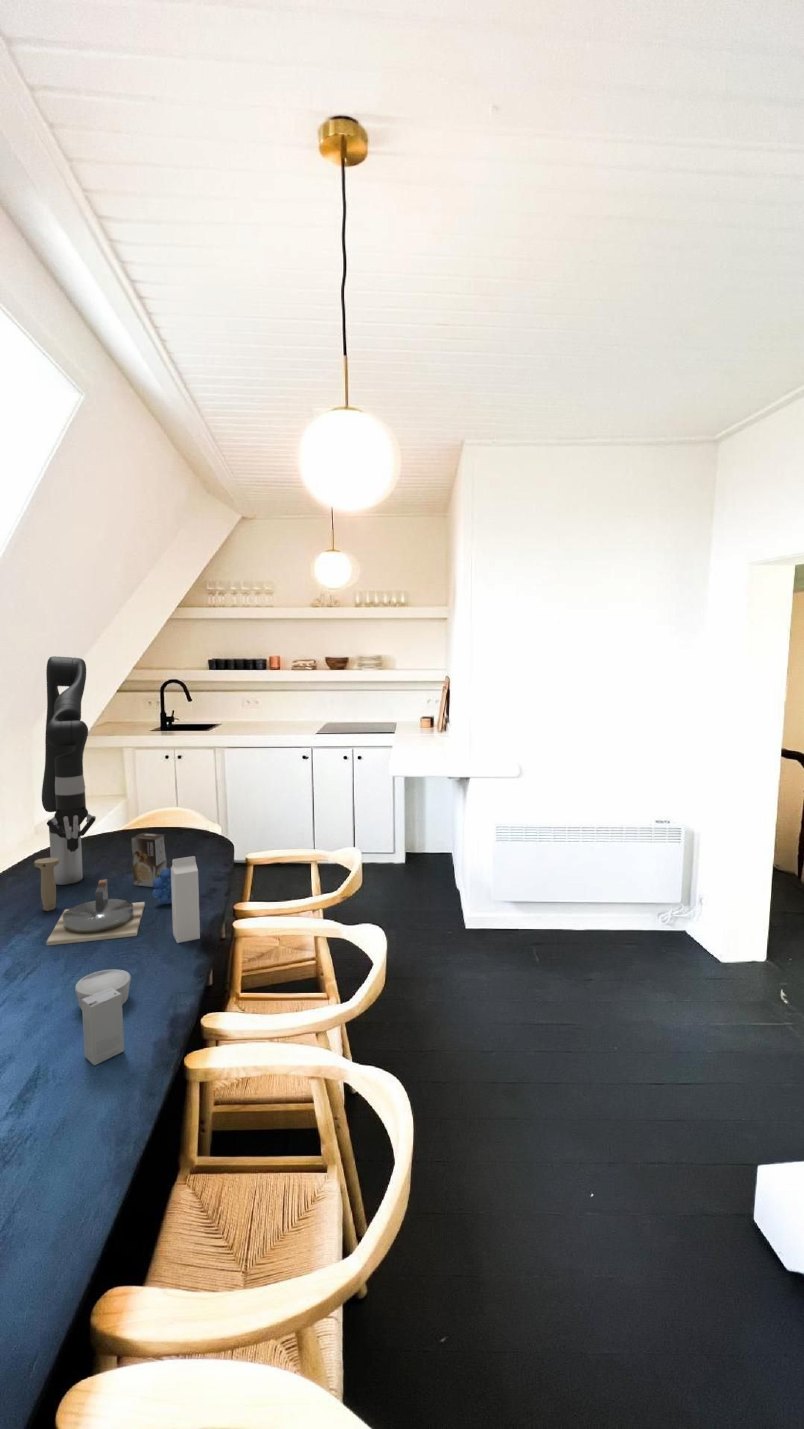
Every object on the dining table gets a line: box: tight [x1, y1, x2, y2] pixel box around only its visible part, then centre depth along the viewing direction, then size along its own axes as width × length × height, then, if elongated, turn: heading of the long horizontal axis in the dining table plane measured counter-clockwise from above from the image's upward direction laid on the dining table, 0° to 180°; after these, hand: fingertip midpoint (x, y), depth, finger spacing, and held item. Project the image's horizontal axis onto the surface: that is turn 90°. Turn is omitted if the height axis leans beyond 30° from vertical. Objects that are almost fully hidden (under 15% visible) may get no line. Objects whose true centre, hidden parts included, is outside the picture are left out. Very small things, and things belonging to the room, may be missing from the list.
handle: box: [34, 857, 59, 912], centre depth 195 cm, size 5×6×15 cm
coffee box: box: [131, 832, 168, 888], centre depth 216 cm, size 9×6×16 cm
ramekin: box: [74, 968, 132, 1010], centre depth 144 cm, size 11×11×5 cm
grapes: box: [151, 867, 172, 905], centre depth 200 cm, size 12×7×12 cm, turn 112°
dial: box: [63, 878, 134, 933], centre depth 185 cm, size 19×18×8 cm
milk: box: [170, 855, 201, 944], centre depth 176 cm, size 6×6×22 cm
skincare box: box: [81, 987, 125, 1066], centre depth 126 cm, size 6×4×12 cm
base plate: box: [46, 901, 146, 947], centre depth 185 cm, size 22×22×1 cm
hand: (73, 850), depth 187 cm, fingers closed
